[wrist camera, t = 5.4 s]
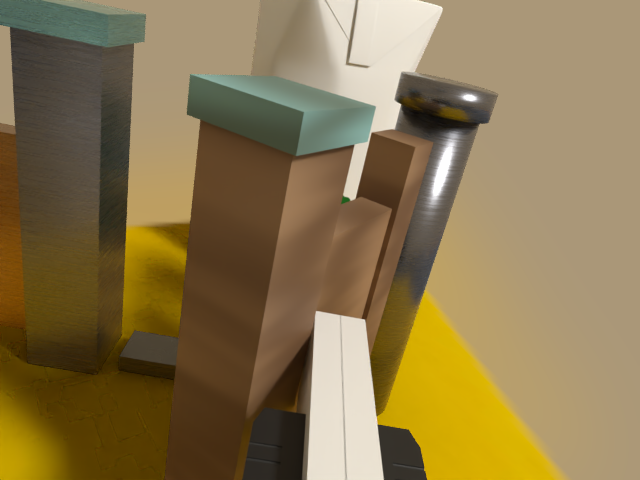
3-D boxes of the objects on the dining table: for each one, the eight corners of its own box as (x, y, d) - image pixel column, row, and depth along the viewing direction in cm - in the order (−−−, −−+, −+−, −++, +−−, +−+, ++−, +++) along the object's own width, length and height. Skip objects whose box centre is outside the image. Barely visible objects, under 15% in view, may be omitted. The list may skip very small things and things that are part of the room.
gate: (216, 587, 14) (304, 111, 9) (150, 526, 15) (190, 74, 10) (366, 415, 22) (465, 99, 16) (313, 383, 23) (388, 78, 17)
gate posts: (-83, 350, 22) (-148, -41, 15) (-29, 305, 25) (-64, -31, 19) (397, 428, 23) (511, 100, 17) (388, 376, 26) (482, 86, 20)
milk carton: (376, 297, 34) (472, -34, 26) (247, 306, 30) (311, -84, 22) (324, 238, 41) (386, -36, 33) (214, 239, 37) (253, -74, 29)
